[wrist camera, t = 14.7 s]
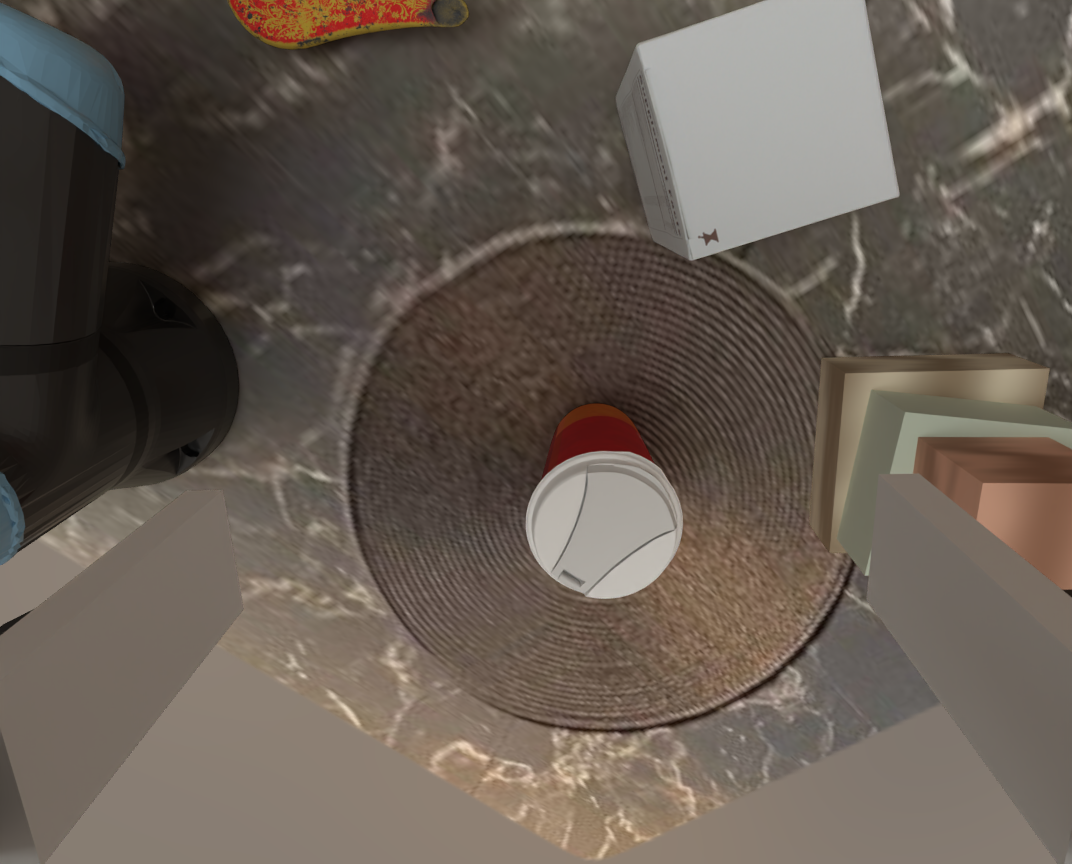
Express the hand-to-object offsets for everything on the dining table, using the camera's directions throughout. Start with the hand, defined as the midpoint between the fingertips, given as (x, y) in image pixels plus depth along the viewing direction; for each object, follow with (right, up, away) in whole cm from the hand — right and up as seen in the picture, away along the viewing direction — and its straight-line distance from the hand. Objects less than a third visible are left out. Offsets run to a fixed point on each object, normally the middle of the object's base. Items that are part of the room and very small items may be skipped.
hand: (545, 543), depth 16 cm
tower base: (+25, +2, +37) cm, 45 cm away
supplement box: (+10, +20, +32) cm, 39 cm away
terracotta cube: (+24, -1, +28) cm, 37 cm away
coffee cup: (+4, +2, +38) cm, 38 cm away
